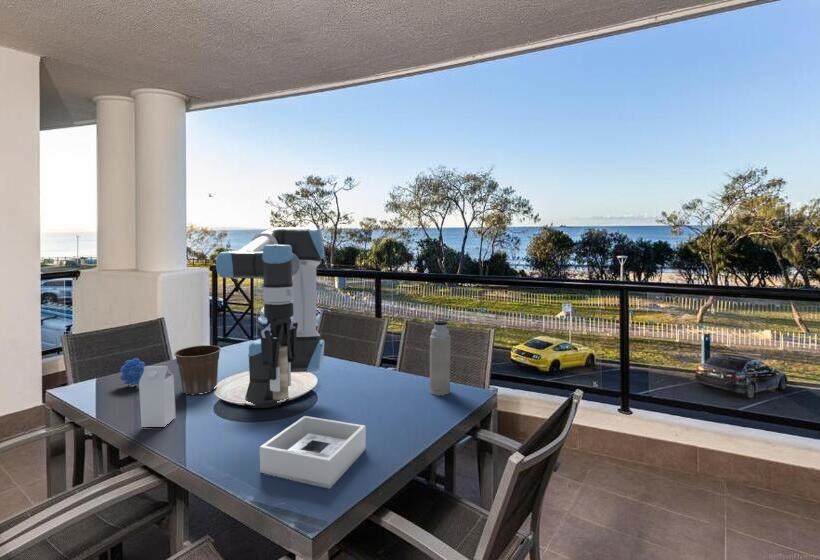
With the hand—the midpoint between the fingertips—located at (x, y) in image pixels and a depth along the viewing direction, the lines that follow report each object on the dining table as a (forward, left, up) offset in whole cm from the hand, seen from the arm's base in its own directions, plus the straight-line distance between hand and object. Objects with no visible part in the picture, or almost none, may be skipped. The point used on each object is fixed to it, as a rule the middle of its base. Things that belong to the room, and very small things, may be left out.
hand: (280, 387), depth 113 cm
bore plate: (+10, 0, -19) cm, 22 cm away
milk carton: (-50, +3, -19) cm, 53 cm away
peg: (0, 0, -3) cm, 3 cm away
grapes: (-90, +26, -19) cm, 96 cm away
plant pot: (-62, +31, -19) cm, 72 cm away
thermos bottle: (+28, +61, -19) cm, 70 cm away
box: (+10, 0, -19) cm, 22 cm away
